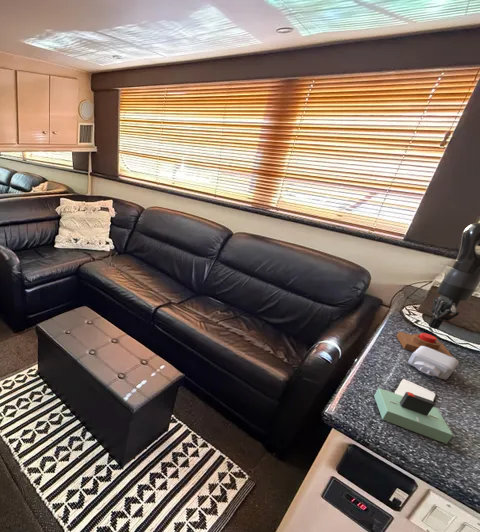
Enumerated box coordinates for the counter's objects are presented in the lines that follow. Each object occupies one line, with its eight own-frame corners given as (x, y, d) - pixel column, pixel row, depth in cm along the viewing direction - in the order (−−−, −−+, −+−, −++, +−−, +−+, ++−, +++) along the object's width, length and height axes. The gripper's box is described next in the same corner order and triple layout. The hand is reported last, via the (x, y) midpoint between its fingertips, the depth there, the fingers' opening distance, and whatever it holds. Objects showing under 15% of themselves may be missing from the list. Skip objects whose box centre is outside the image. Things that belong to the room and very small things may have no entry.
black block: (424, 411, 81) (432, 399, 79) (427, 416, 80) (435, 403, 78) (399, 402, 83) (406, 391, 82) (401, 406, 82) (408, 394, 80)
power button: (432, 339, 114) (434, 335, 113) (436, 344, 111) (438, 340, 110) (417, 335, 116) (419, 331, 115) (420, 340, 113) (423, 336, 112)
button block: (439, 348, 116) (444, 339, 115) (450, 362, 108) (456, 352, 107) (396, 336, 122) (401, 327, 120) (403, 348, 114) (409, 339, 112)
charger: (400, 368, 102) (414, 355, 110) (440, 387, 95) (452, 372, 103) (407, 357, 100) (421, 344, 108) (449, 375, 93) (460, 360, 101)
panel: (431, 416, 84) (437, 407, 83) (446, 444, 76) (453, 434, 75) (373, 395, 89) (378, 387, 88) (382, 419, 81) (387, 410, 80)
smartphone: (436, 393, 92) (428, 415, 83) (434, 395, 92) (426, 417, 84) (402, 378, 97) (391, 397, 89) (401, 380, 98) (390, 399, 89)
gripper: (485, 294, 98) (455, 340, 105) (466, 280, 109) (439, 323, 115) (452, 286, 101) (424, 332, 108) (436, 274, 112) (412, 316, 119)
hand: (432, 327), depth 112 cm, fingers closed
